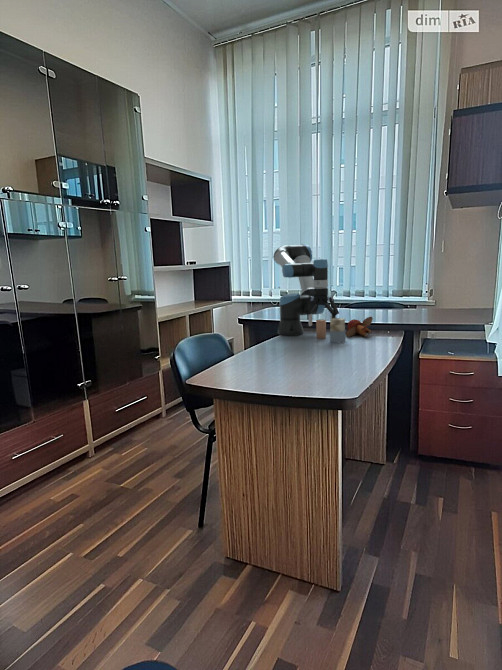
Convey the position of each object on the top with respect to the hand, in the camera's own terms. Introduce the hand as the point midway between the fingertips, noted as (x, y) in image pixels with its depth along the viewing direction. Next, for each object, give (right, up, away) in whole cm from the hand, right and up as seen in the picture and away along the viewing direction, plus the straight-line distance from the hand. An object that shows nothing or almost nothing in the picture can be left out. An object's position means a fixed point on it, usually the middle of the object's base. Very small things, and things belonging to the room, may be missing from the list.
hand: (321, 326), depth 222 cm
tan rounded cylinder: (0, -6, +2) cm, 6 cm away
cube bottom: (+7, -8, -9) cm, 14 cm away
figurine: (+22, -5, +4) cm, 23 cm away
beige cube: (+7, -2, -10) cm, 12 cm away
